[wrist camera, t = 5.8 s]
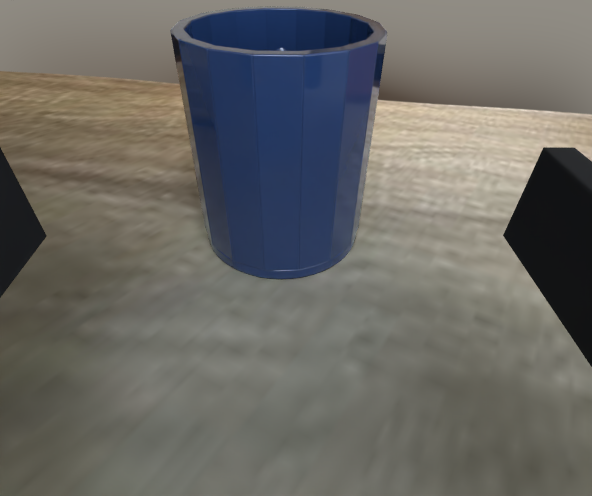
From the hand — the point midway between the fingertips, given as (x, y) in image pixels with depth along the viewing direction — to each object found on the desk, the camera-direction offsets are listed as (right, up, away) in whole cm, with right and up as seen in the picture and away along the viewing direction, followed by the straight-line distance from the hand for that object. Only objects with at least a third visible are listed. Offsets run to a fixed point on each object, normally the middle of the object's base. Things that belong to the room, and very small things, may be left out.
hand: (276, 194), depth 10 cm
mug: (0, +1, +13) cm, 13 cm away
